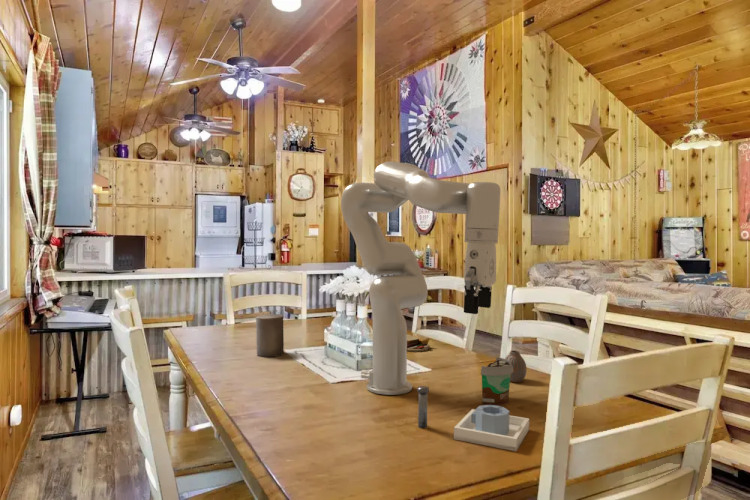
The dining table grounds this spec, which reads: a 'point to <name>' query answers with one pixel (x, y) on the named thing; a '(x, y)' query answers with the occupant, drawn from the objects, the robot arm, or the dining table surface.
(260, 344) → the pillar candle
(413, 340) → the toy sandwich meal
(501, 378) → the food container
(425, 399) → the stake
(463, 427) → the tray
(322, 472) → the dining table surface
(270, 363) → the dining table surface
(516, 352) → the vase
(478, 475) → the dining table surface
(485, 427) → the ring
